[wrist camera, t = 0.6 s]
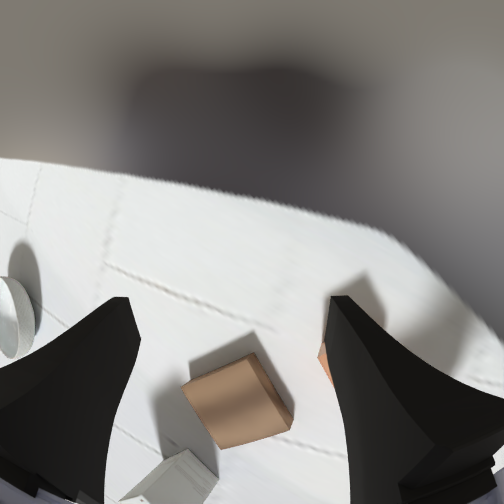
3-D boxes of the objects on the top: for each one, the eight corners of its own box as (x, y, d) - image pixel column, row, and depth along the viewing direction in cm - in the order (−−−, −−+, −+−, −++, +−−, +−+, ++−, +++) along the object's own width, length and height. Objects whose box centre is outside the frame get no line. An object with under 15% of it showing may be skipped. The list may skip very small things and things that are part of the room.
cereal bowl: (51, 304, 45) (21, 307, 38) (42, 368, 47) (17, 376, 40) (17, 261, 50) (-9, 261, 43) (9, 322, 52) (-14, 326, 45)
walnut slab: (294, 417, 32) (289, 430, 29) (229, 438, 35) (220, 449, 32) (254, 351, 34) (246, 359, 31) (191, 379, 36) (180, 387, 33)
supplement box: (161, 460, 38) (115, 500, 26) (188, 447, 36) (140, 494, 24) (191, 490, 36) (152, 535, 24) (221, 480, 34) (183, 532, 22)
